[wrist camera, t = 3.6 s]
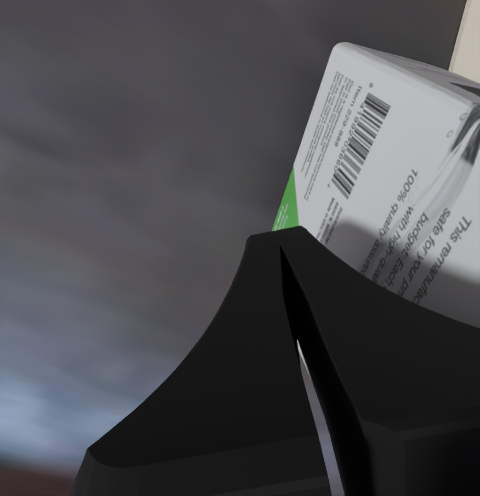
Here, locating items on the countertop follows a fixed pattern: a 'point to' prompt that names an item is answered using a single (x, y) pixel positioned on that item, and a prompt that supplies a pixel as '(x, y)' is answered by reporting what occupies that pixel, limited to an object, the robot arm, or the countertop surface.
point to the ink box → (394, 177)
